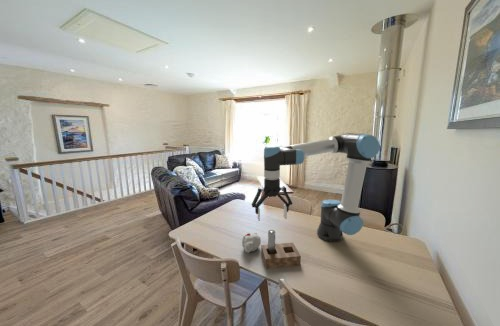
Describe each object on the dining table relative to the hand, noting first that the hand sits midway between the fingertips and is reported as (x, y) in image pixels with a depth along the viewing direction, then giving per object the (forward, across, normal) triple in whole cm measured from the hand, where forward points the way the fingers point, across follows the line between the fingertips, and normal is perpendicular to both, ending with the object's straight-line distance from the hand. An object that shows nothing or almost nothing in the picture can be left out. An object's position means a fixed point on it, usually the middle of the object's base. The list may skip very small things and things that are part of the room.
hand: (272, 218), depth 102 cm
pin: (+22, 0, 0) cm, 22 cm away
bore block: (+23, -4, 0) cm, 24 cm away
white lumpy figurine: (+23, +10, -12) cm, 28 cm away
